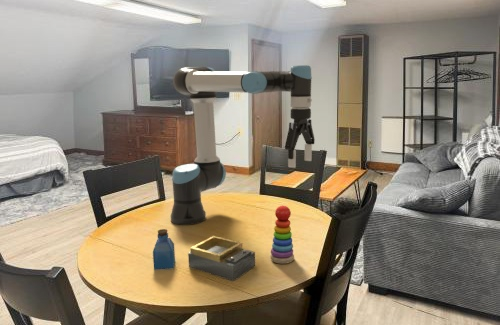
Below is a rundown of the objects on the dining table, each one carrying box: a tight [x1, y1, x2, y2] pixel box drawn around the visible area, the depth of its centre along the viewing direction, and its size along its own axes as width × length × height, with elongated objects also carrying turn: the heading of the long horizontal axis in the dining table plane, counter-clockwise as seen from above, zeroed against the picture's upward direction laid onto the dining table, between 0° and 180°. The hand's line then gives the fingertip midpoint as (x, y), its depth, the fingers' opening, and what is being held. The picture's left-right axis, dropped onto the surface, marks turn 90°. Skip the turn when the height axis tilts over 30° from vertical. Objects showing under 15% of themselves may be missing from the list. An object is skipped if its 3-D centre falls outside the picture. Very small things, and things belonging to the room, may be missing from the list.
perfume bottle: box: [152, 228, 176, 271], centre depth 138 cm, size 6×6×12 cm
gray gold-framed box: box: [187, 235, 256, 282], centre depth 136 cm, size 18×12×7 cm, turn 56°
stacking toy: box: [269, 205, 295, 265], centre depth 140 cm, size 8×8×19 cm
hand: (300, 164), depth 160 cm, fingers open, 13 cm apart
